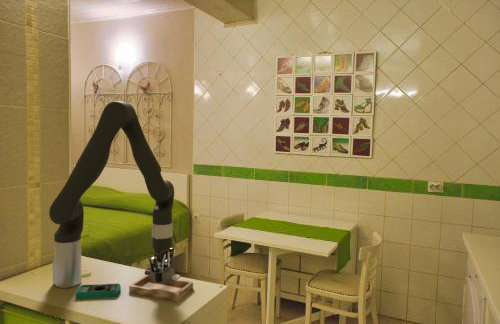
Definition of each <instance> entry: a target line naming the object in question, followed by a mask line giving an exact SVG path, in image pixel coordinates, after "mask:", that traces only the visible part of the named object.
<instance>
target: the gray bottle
mask: <svg viewBox="0 0 500 324" xmlns="http://www.w3.org/2000/svg"><path fill="white" fill-rule="evenodd" d="M158 267H159V266H158ZM154 269H155V268H154ZM145 275H150V280H151V281H152V282H156V280H155V272H152V271H151V267H150V269H145V270H144V276H145ZM180 277H181V275H180V274H176V273H175V269H174V268H173V267H169V268H167V267H162V282H160V283H162V284H172V283H174V280H180V279H181V278H180ZM157 283H159V282H157Z"/></svg>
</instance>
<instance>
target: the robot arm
mask: <svg viewBox="0 0 500 324" xmlns="http://www.w3.org/2000/svg"><path fill="white" fill-rule="evenodd" d="M120 130H122V132H124V134H125V136H126V137H127V140H128V141H129V145H130V149H131V152H132V156H133V160H134V162H135V164H136V166H137V168H138V169H139V171H140V173H141V175H142V177H143V179H144V183H145V185H146V188H147V192H148V193H149V195H150V197H151V198H152V199H153V200H154V201H155V205H154V207H153V210H152V224H151V225H152V226H151V248H152V249H153V250H154V253H153V257H150V258H149V259H148V261H149V266H150V268H151V271H152V272H155V280H156V282H159V283H160V282H162V267H167V268H171V265H172V264H173V259H174V253H175V249H174V248H173V245H174V244H173V243H174V242H173V241H174V239H173V237H174V235H173V233H174V229H173V207H174V200H175V186H174V184H173V183H172V182H171V181H170V180H167V179H164V178H163V175H162V167H161V165H160V162H158V160H157V158H156V156H155V154H154V152H153V151H152V148H151V147H150V145H149V142H148V141H147V138H146V136H145V133H144V131H143V129H142V126H141V124H140V120H139V117H138V115H137V112H136V109H135V107H134V106H133V105H132V104H131V103H128V102H126V101H121V100H118V101H117V100H113V101H111V102H109V103H108V104H106V105H105V106H104V108H103V110H102V113H101V115H100V117H99V119H98V122H97V125H96V128H95V130H93V134H92V135H91V137H90V139H89V140H88V142H87V144H86V145H85V148H84V149H83V150H82V153H81V154H80V156H79V158H78V159H77V161H76V163H75V165H74V167H73V170H72V171H71V173H70V175H69V177H68V179H67V180H66V182H65V184H64V185H63V187H62V189H61V191H59V193H58V194H57V196H56V198H55V199H54V200H53V202H52V203H51V205H50V207H49V211H48V212H49V213H48V215H49V218H50V220H51V222H52V223H54V224H56V225H59V227H58V228H57V230H56V231H55V233H54V236H53V241H54V242H53V243H54V244H53V245H54V246H53V247H54V259H52V285H54V286H55V287H57V288H60V289H61V288H62V289H66V288H73V287H77V286H79V285H80V284H81V283H82V233H83V231H84V219H85V218H84V215H85V214H84V213H85V211H84V205H83V202H82V201H81V198H82V196H83V195H84V194H85V193H86V191H88V189H90V188H91V186H92V185H93V184H94V183H95V182H96V181H97V180H98V179H99V177H100V176H101V174H103V171H104V169H105V167H106V166H107V164H108V162H109V159H110V154H111V153H110V152H111V147H112V144H113V141H114V139H115V137H116V136H117V135H118V133H119V131H120ZM158 266H159V267H158ZM154 268H155V269H154Z"/></svg>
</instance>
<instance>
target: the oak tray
mask: <svg viewBox="0 0 500 324" xmlns="http://www.w3.org/2000/svg"><path fill="white" fill-rule="evenodd" d="M128 287H129V288H128V293H129V294H136V295H139V296H146V297H151V298H155V299H160V300H161V299H162V300H164V301H165V300H166V301H171V302H176V303H179V302H180V300H182V299H183V298H184V297H185V296H186V295H187V294H189V293H190V292H191V291H192V290H194V282H193V281H188V280H184V279H183V280H182V279H178V280H174V283H172V284H162V283H157V282H152V281H151V280H150V275H145V274H144V276H142V277H141V278H139V279H137V280H135V282H133V283H131V284H130V285H128Z"/></svg>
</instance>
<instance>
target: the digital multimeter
mask: <svg viewBox="0 0 500 324" xmlns="http://www.w3.org/2000/svg"><path fill="white" fill-rule="evenodd" d="M121 292H122V291H121V284H120V283H105V284H104V283H103V284H102V283H101V284H81V285H79V286H78V288H77V290H76V291H75V300H83V299H85V300H87V299H101V298H102V299H103V298H105V299H106V298H117V297H118V296H119V295H120V294H121Z"/></svg>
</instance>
